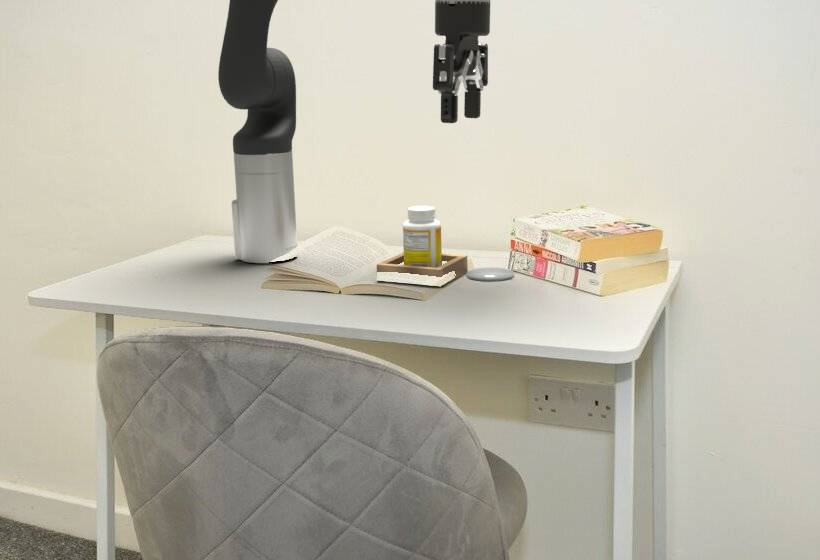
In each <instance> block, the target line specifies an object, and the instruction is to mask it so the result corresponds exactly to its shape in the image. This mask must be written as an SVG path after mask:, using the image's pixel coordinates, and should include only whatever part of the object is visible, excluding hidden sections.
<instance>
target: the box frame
mask: <svg viewBox="0 0 820 560" xmlns="http://www.w3.org/2000/svg"><path fill="white" fill-rule="evenodd" d="M442 261H447V263H445V264H443V265H441V266H439V267H437V268H433V267H421V266H409V265H398V264H400V263H402V262H404V251H403V252H402V253H399V254H397V255H395V256H392V257H390V258H388V259H386V260H383V261H381V262H379V263H377V264H376V273H377V272H398V273H410V274H419V275H428V276H436V277H442V276H443V275H445V274H448V273H449V272H452V271H455V274H456V276H455V275H454V276H455V278H456V279H457V278H460V277H461V276H463V275H464V274H465V275H466V272H467V271H469V270H468V269H469V267H468V255H464V254H453V253H452V254H450V253H442Z"/></svg>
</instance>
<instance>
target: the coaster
mask: <svg viewBox="0 0 820 560" xmlns="http://www.w3.org/2000/svg"><path fill="white" fill-rule="evenodd" d="M465 275H466V278H468V279H470V280H474V281H480V282H500V281H507V280H510V279H513V278H514V277H515V271H513V270H511V269H507V268H503V267H502V268H501V267H477V268H473V269H470V270H468V271H467V272H466V273H465Z"/></svg>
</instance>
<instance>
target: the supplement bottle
mask: <svg viewBox="0 0 820 560" xmlns="http://www.w3.org/2000/svg"><path fill="white" fill-rule="evenodd" d="M436 217H437V215H436V208H435V207H434V206H429V205H415V206H410V207H408V208H407V220H405V221H404V222H403V224H402V234H403V235H402V238H403V242H402V243H403V244H402V245H403V252H404V265H409V266H421V267H433V268H437V267H439V266H441V265H442V254H443V253H442V252H443V251H442V223H441V222H440V220H438V219H436Z"/></svg>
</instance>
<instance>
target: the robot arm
mask: <svg viewBox="0 0 820 560" xmlns="http://www.w3.org/2000/svg"><path fill="white" fill-rule="evenodd" d="M278 2H279V0H229V2H228V3H229V5H228V12H227V18H226V23H225V29H224V35H223V40H222V41H223V42H222V47H221V51H220V56H219V62H218V63H219V64H218V70H217V71H218V72H217V73H218V75H217V77H218V79H217V80H218V87H219V90H220V94H221V95H222V97H223V99H224V100H225V102H226V103H227V104H228V105H229V106H231V107H232V108H233V109H237V110H247V115H246V117H247V118H246V120H245V122H244V124H243V126H242V127H241V128H240V129H239V130H238V131H237V132H235V134H234V135H233V136H232V137H233V138H232V151H233V163H234V164H233V165H234V166H233V167H234V176H235V177H234V178H235V180H234V181H235V193H236V199H233V200H232V201H231V216H232V228H233V229H232V230H233V232H232V233H233V243H234V247H233V248H234V258H235V260H241V261H242V262H246V263H250V264H251V263H252V264H253V263H254V264H270V263H269V262H270V261H272V260H274V259H276V258H278V257H280V256H283V255H285V254H287V253H289V252H290V251H292V250H293V249H295V248H296V247H297V248H298V241H297V240H298V239H297V219H296V218H297V217H296V200H295V199H296V198H295V182H294V181H295V179H294V178H295V177H294V161H293V138H294V136H295V132H296V130H297V129H296V128H297V84H296V83H297V82H296V75H295V70H294V67H293V65H292V62H291V60H290V58H289V57H288V56H287V55H286V53H284V52H283V51H282V50H280V49H278V48H275V47H274V48H273V47H268V38H269V29H270V24H271V20H272V15H273V13H274V9H275V8H276V5H277V3H278ZM490 32H491V0H434V33H435V34H436V35H437V36H439V37H443V36H444V37H445V41H444V43H440V44H439V43H438V44H434V47H433V65H432V67H433V68H432V90H433V91H437V92H438V94H439V95H440V122H441V123H443V124H455V123H457V122H458V121H459V120H458V119H459V117H458V116H459V115H458V114H459V113H458V112H459V109H458V108H459V107H458V106H459V95H458V93H459V89H460V86H461V83H463V87H464V90H465V91H464V109H463V111H464V112H463V113H464V117H465V118H467V119H478V118H480V117H481V102H482V100H481V99H482V98H481V95H482V94H481V93H482V91H484V87H487V86H488V83H489V44H487V43H479V37H486V36H489V34H490Z"/></svg>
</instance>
